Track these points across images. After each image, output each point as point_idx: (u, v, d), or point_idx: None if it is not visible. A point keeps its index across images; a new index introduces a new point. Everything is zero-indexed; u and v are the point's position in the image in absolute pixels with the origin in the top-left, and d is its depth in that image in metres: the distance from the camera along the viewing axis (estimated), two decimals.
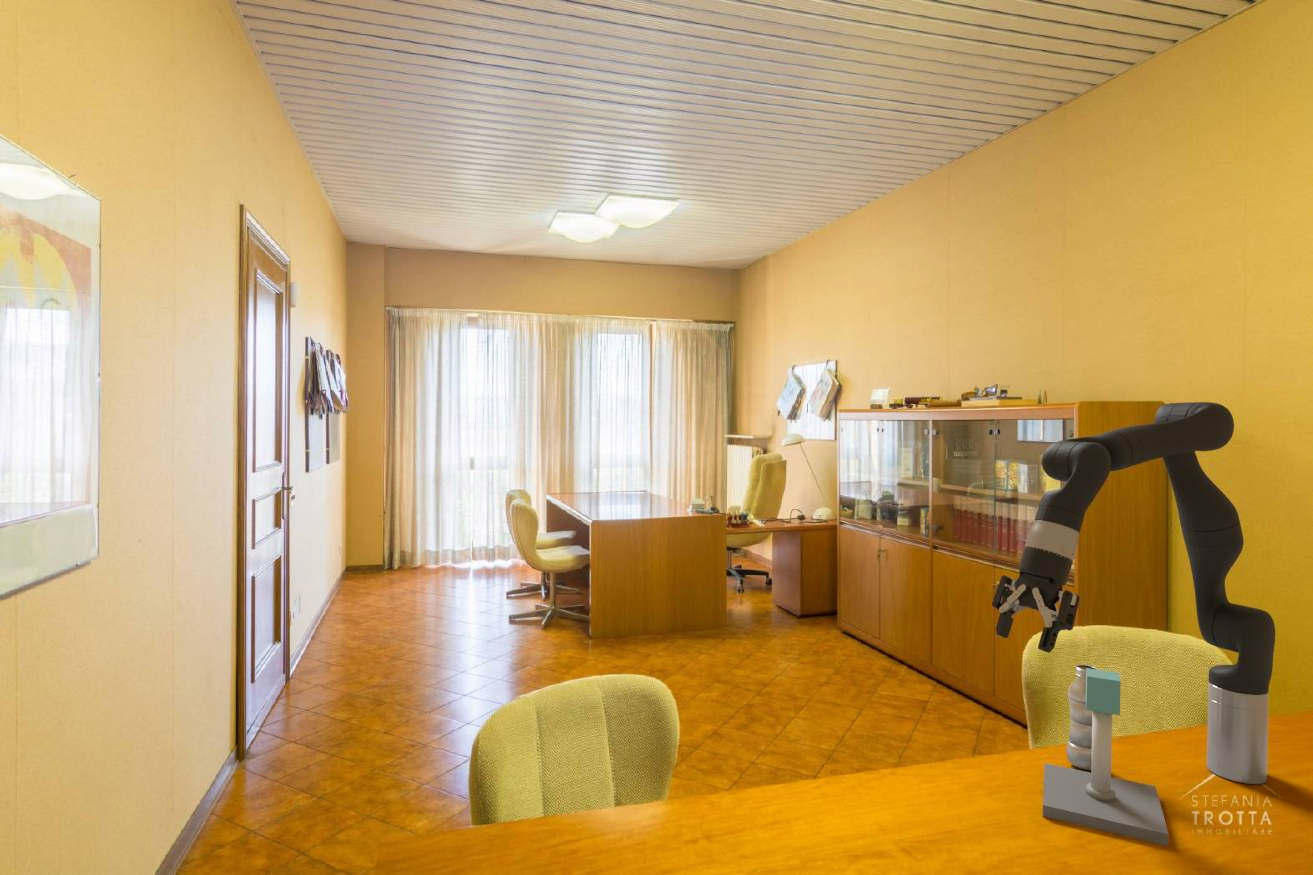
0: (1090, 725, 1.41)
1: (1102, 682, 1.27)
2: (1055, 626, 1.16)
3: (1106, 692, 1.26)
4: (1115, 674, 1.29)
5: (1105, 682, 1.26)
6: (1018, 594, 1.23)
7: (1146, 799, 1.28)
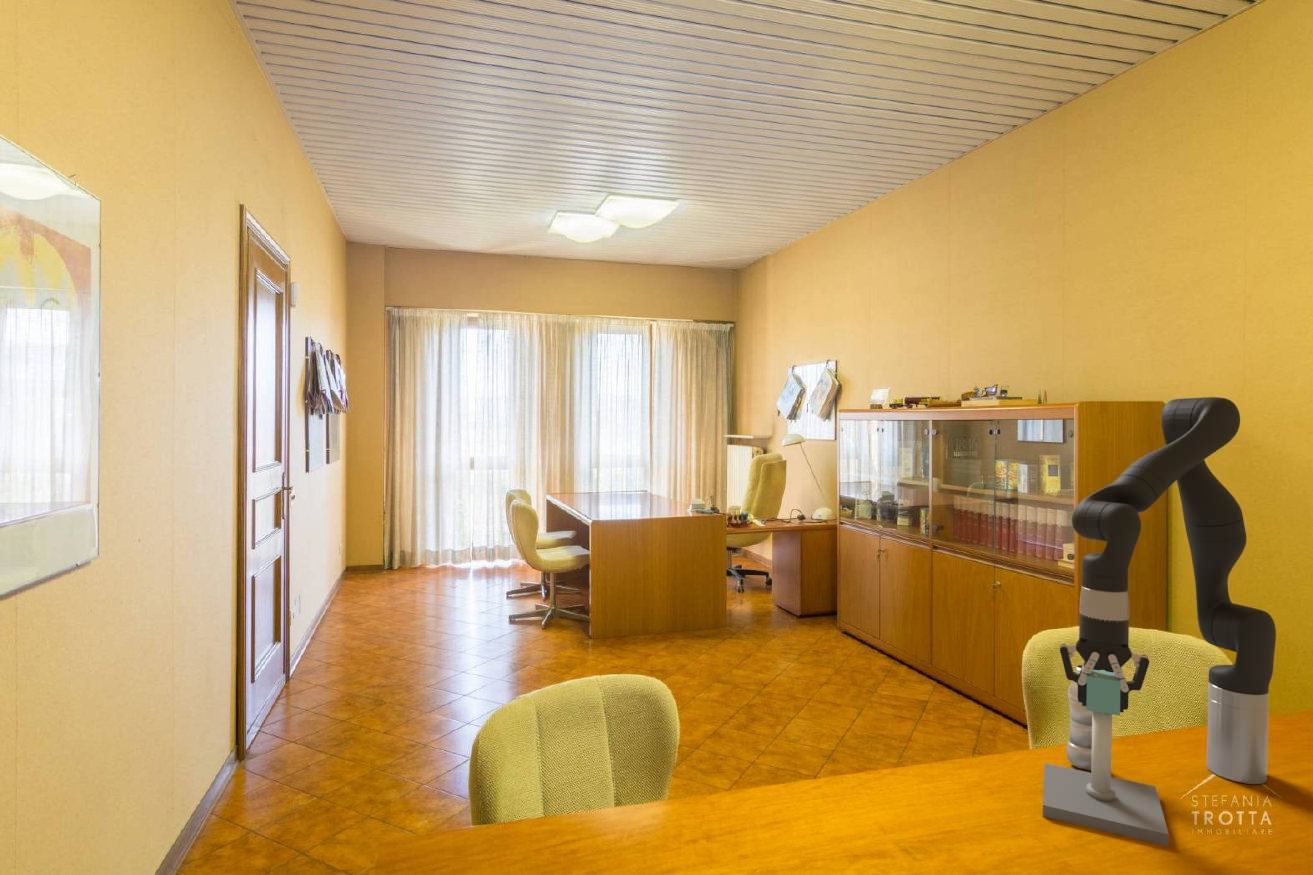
0: (1090, 725, 1.41)
1: (1102, 682, 1.27)
2: (1130, 689, 1.26)
3: (1106, 692, 1.26)
4: None
5: (1105, 682, 1.26)
6: (1093, 662, 1.28)
7: (1146, 799, 1.28)
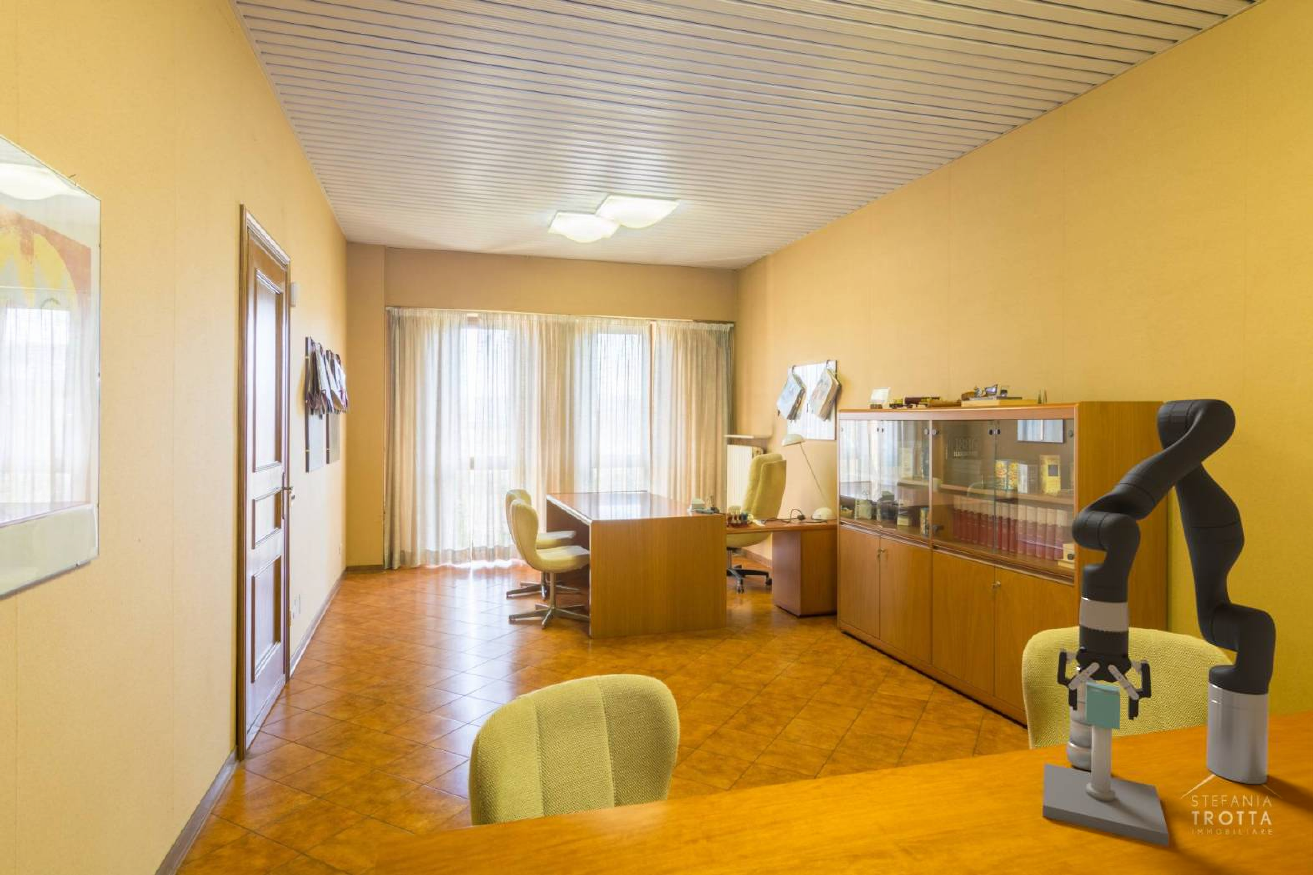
0: (1090, 725, 1.41)
1: (1102, 696, 1.27)
2: (1140, 696, 1.25)
3: (1106, 706, 1.26)
4: (1114, 688, 1.29)
5: (1105, 696, 1.26)
6: (1090, 672, 1.28)
7: (1146, 799, 1.28)
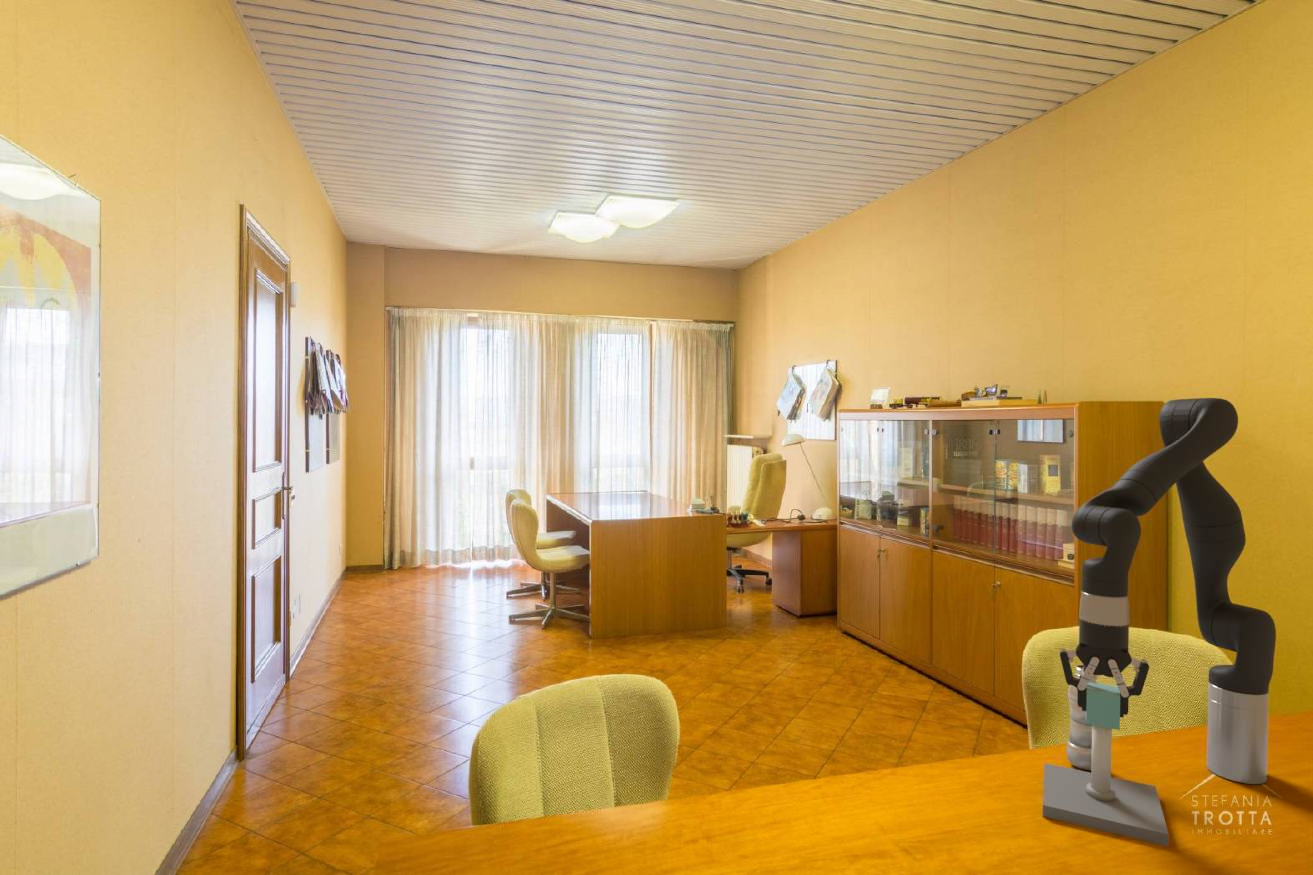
0: (1090, 725, 1.41)
1: (1102, 696, 1.27)
2: (1130, 694, 1.26)
3: (1106, 706, 1.26)
4: (1114, 688, 1.29)
5: (1105, 696, 1.26)
6: (1093, 667, 1.28)
7: (1146, 799, 1.28)
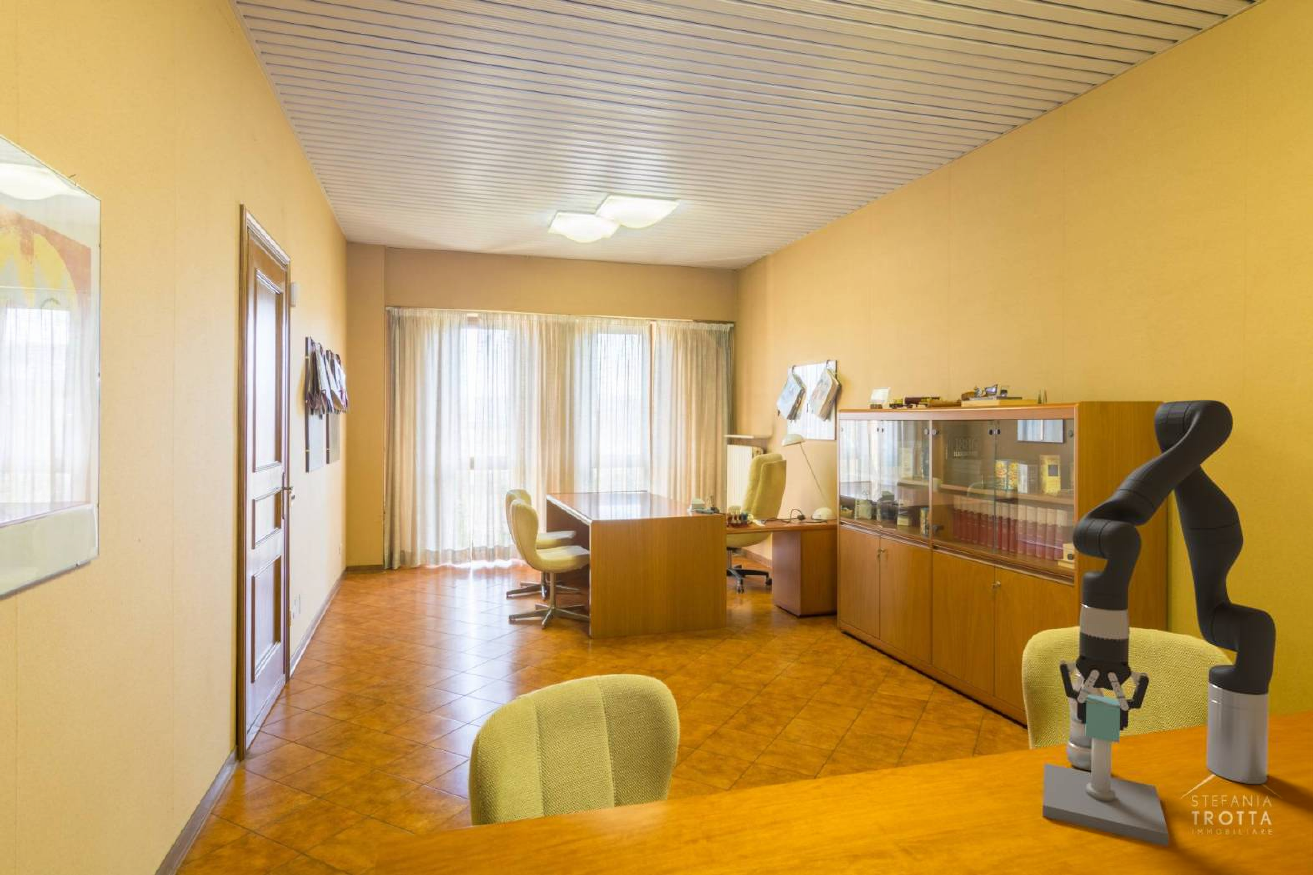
0: None
1: (1101, 709, 1.27)
2: (1130, 707, 1.26)
3: (1106, 719, 1.26)
4: (1114, 701, 1.29)
5: (1104, 709, 1.26)
6: (1093, 680, 1.28)
7: (1146, 799, 1.28)
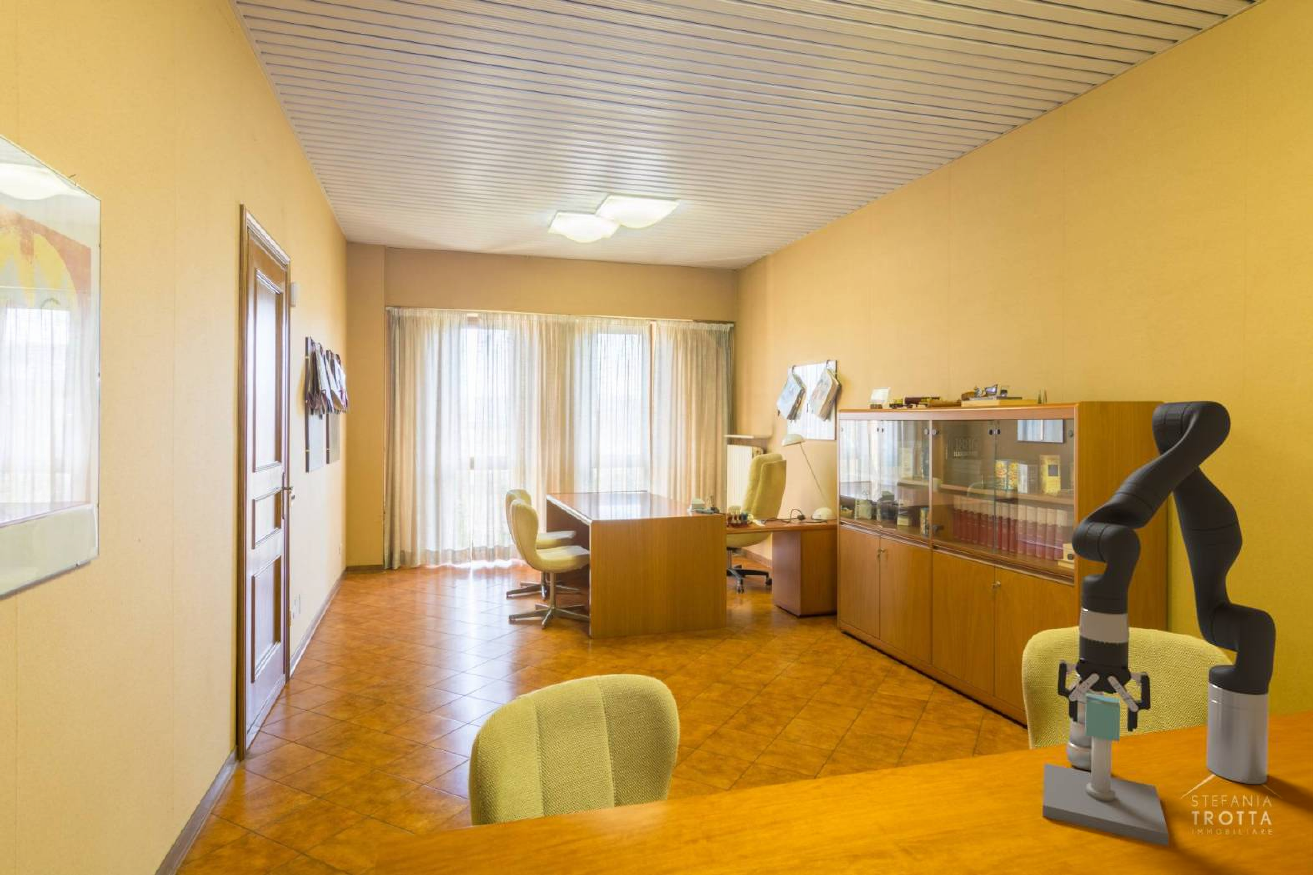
0: None
1: (1102, 708, 1.27)
2: (1139, 708, 1.25)
3: (1106, 718, 1.26)
4: (1114, 699, 1.29)
5: (1105, 708, 1.26)
6: (1090, 683, 1.28)
7: (1146, 799, 1.28)
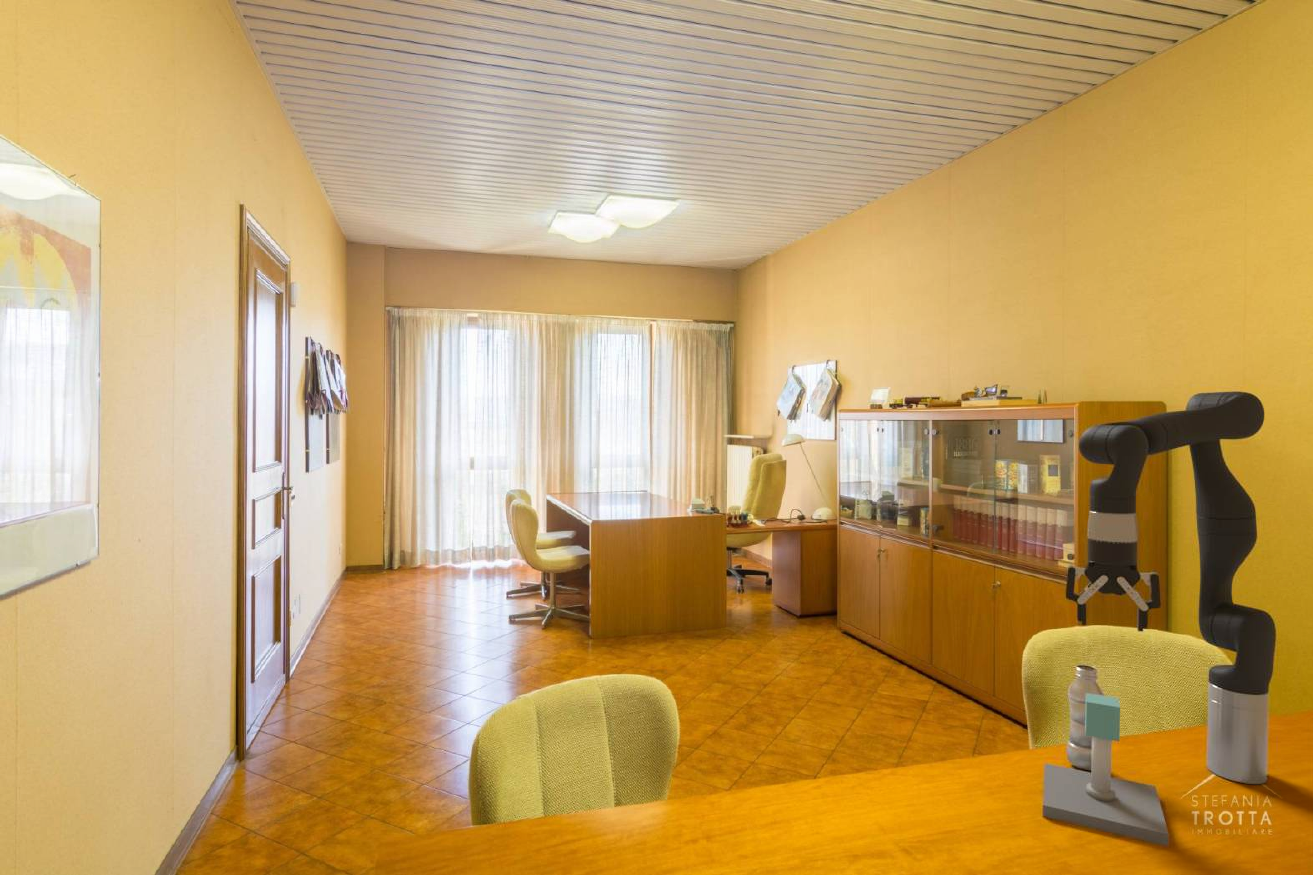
0: None
1: (1102, 708, 1.27)
2: (1149, 607, 1.25)
3: (1106, 718, 1.26)
4: (1114, 699, 1.29)
5: (1105, 708, 1.26)
6: (1099, 585, 1.28)
7: (1146, 799, 1.28)
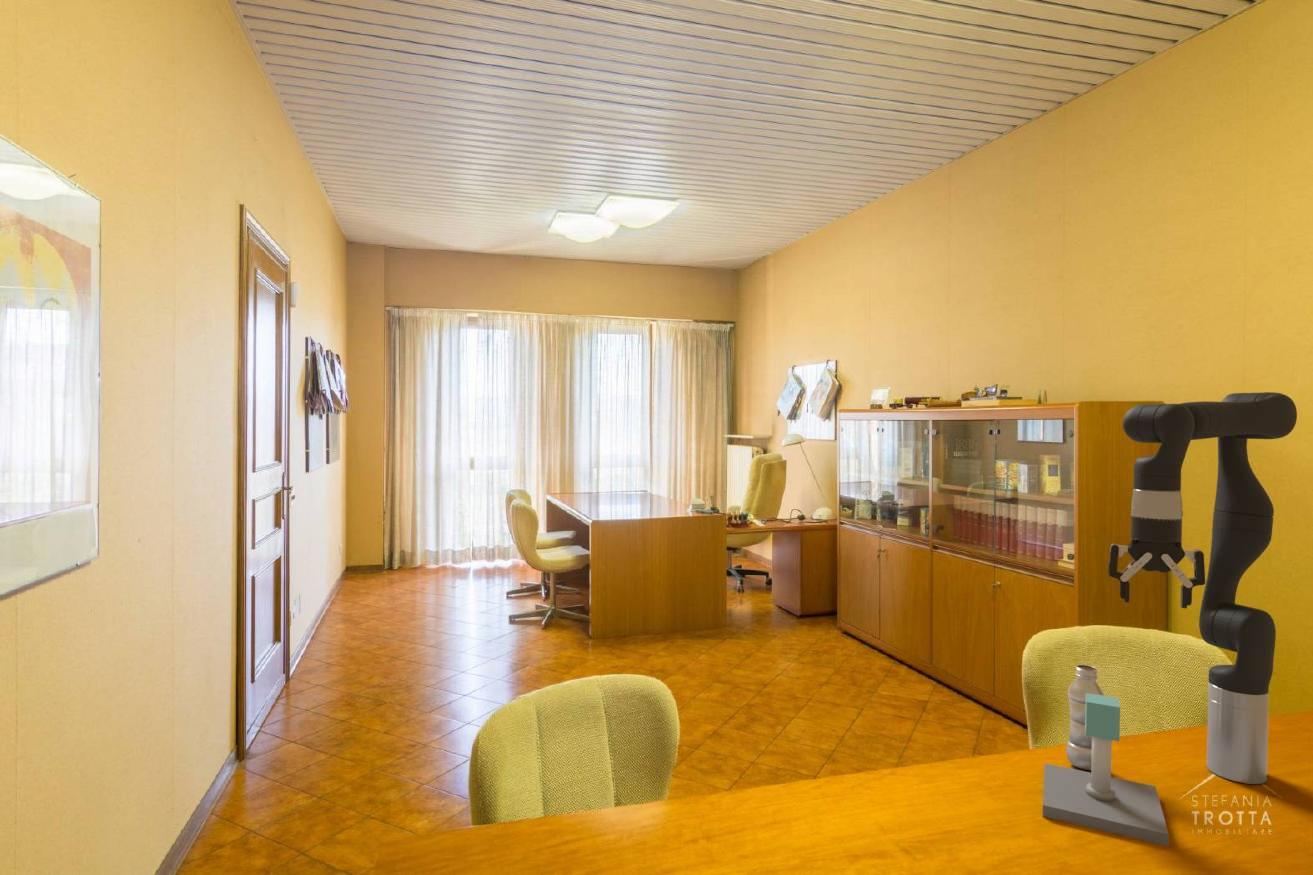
0: None
1: (1102, 708, 1.27)
2: (1194, 584, 1.26)
3: (1106, 718, 1.26)
4: (1114, 699, 1.29)
5: (1105, 708, 1.26)
6: (1143, 562, 1.29)
7: (1146, 799, 1.28)
